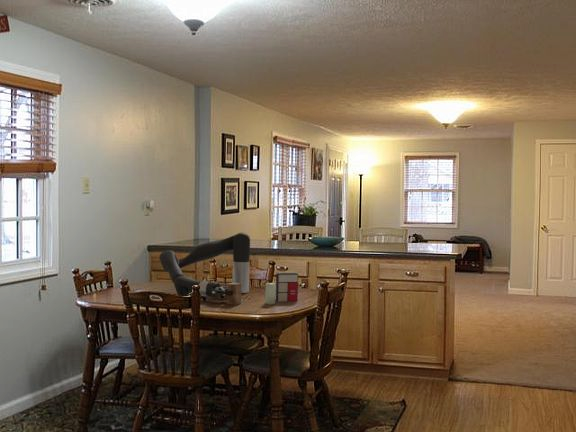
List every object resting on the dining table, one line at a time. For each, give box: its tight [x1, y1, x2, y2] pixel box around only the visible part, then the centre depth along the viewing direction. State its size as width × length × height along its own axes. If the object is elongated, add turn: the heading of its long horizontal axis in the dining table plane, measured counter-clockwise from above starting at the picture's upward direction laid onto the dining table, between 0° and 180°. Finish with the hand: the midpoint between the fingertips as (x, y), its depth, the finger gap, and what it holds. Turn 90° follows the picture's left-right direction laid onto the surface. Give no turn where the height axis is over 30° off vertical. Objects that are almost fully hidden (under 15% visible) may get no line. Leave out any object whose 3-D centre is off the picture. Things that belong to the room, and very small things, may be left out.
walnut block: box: [226, 282, 242, 306], centre depth 327 cm, size 5×5×10 cm
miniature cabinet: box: [275, 272, 299, 302], centre depth 341 cm, size 11×4×15 cm, turn 105°
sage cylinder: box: [264, 282, 276, 306], centre depth 330 cm, size 5×5×10 cm
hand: (236, 292), depth 326 cm, fingers open, 8 cm apart
